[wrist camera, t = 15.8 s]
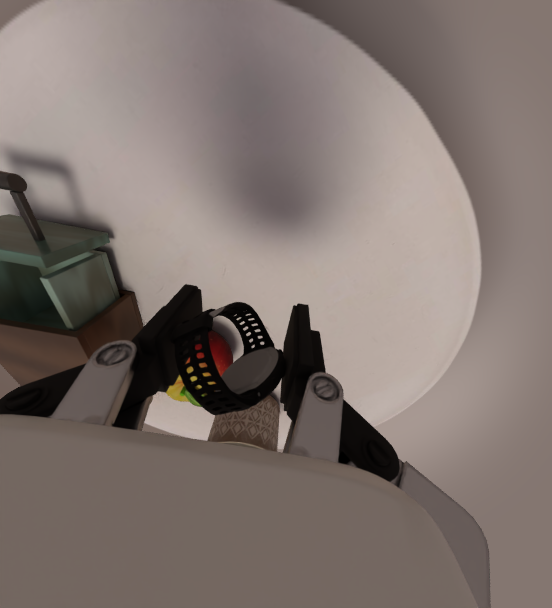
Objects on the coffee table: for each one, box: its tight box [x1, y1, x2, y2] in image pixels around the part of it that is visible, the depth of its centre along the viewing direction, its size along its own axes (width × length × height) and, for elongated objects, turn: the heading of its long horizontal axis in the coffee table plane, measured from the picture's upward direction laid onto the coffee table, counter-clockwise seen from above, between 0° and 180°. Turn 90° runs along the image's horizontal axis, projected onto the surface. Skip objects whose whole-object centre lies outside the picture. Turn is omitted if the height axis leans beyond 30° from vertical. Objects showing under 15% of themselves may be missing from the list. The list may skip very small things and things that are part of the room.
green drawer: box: [0, 171, 120, 331], centre depth 23 cm, size 18×11×8 cm, turn 170°
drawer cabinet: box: [0, 290, 143, 386], centre depth 30 cm, size 14×13×10 cm
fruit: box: [166, 330, 233, 407], centre depth 31 cm, size 11×11×10 cm
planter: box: [207, 395, 280, 452], centre depth 40 cm, size 13×13×10 cm
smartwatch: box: [170, 302, 286, 415], centre depth 9 cm, size 4×5×5 cm
